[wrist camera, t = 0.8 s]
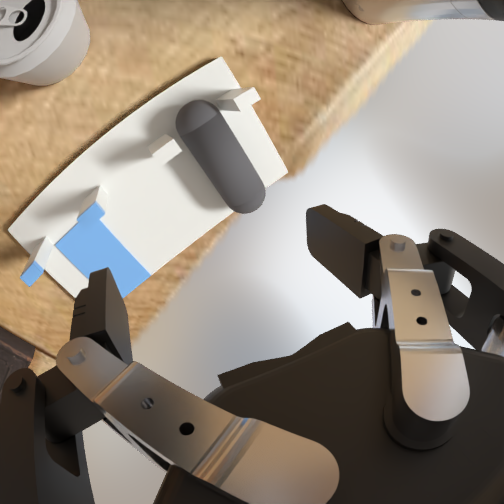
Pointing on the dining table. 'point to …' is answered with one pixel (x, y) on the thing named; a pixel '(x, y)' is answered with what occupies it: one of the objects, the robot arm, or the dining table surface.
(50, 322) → the dining table surface
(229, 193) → the dark grey rounded cylinder
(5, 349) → the hardcover book
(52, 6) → the can
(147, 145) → the white peg board
